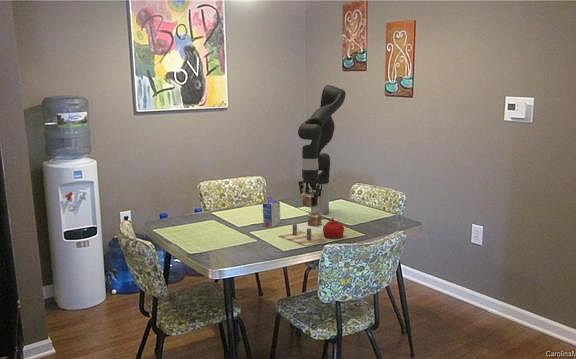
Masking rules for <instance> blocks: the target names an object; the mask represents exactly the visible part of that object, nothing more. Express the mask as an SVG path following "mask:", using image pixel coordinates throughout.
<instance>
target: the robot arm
mask: <svg viewBox="0 0 576 359" xmlns="http://www.w3.org/2000/svg"><path fill="white" fill-rule="evenodd" d="M345 99H346V91H345V89H343V88H340V87H338V86H334V85H330V84H326V85H325V86H324V87H323V89H322V92H321V98H320V105H319V108H317V109H316V110H314V112H313V113H312V115H311V116H310V118H307V119H306V120H305V121H303V122H302V123H301V124H300V125H299V127H298V129H297V135H298V137H299V138H300V139H301V140H304V141H305V140H307V141H308V140H309V141H311V142H310V144H305V145H303V146H302V148H301V149H302V150H301V155H302V156H301V158H302V159H301V178H302V180H299V181H298V186H299V194H300V195H302V193H306V192H310V193H312V197H313V198H312V206H316V205H317V197H318V206H316V207H311V208H310V213H311V212H318V213H322V215H321V216H326V215H329V214H330V174H331V173H330V171H331V157H330V155H329V153H321V152H322V151H323V149H324V148H325V147H326V146H327V145H328V144H329V143H330V142H331V140H332V139H333V137H334V133H335V126H336V125H335V122H334V120H333V117H332V116H333V115H334V114H335V113H336V112H337V111H338V110H339V109H340V108H341V107H342V106H343V104H344V102H345ZM319 171H321V172H320V173H319ZM314 193H315V195H314Z"/></svg>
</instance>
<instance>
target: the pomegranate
mask: <svg viewBox="0 0 576 359" xmlns="http://www.w3.org/2000/svg"><path fill="white" fill-rule="evenodd" d="M344 233H345V226H344V225H343V223H341V222H340V221H338V220H336V221H335V218H333V217H331V220H329V221H327V222H326V223H325V224H324V227H323V232H322V234H323V236H324V237H325V238H328V239H340V238H342V236H343V235H344Z"/></svg>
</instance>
